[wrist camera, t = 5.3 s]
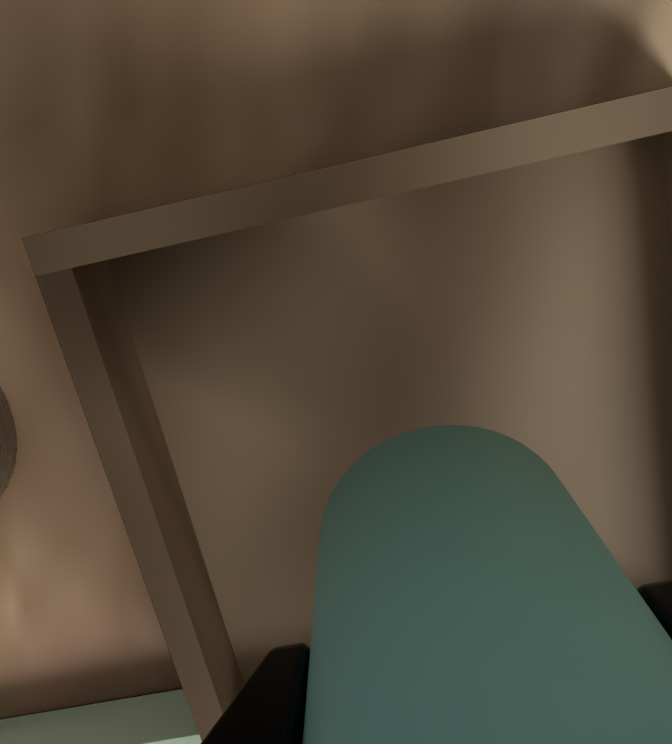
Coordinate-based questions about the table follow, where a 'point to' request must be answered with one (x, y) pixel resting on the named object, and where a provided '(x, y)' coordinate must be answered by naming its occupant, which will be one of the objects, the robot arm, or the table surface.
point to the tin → (6, 443)
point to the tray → (109, 723)
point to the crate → (370, 355)
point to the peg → (475, 607)
